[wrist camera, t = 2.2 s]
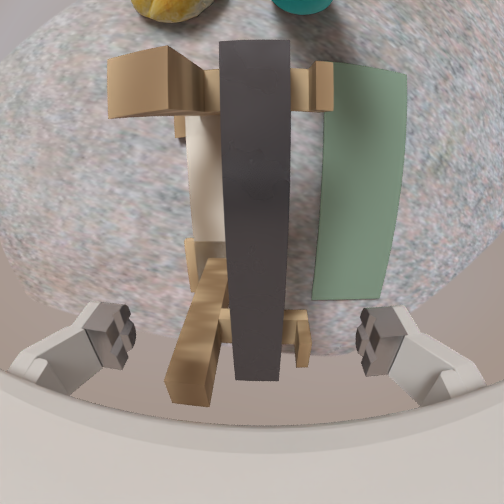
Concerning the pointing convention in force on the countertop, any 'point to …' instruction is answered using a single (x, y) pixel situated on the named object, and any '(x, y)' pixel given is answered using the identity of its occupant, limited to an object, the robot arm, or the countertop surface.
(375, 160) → the mat
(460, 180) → the countertop surface
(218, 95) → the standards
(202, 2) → the bread roll
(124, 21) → the countertop surface
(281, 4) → the beverage can
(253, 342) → the rail
